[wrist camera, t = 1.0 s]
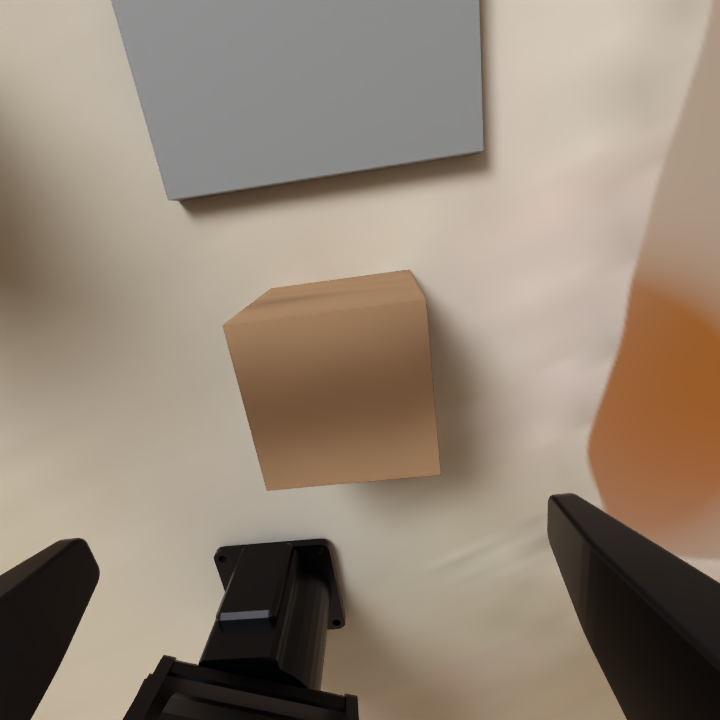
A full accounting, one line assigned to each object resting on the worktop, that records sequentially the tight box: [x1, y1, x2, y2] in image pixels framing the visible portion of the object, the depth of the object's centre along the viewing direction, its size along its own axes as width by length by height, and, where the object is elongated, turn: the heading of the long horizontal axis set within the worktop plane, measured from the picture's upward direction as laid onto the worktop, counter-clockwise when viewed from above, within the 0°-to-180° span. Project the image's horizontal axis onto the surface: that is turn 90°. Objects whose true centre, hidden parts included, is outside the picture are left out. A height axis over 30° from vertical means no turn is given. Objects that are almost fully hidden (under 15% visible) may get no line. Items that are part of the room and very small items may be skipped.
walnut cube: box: [223, 270, 440, 491], centre depth 15 cm, size 6×6×6 cm
